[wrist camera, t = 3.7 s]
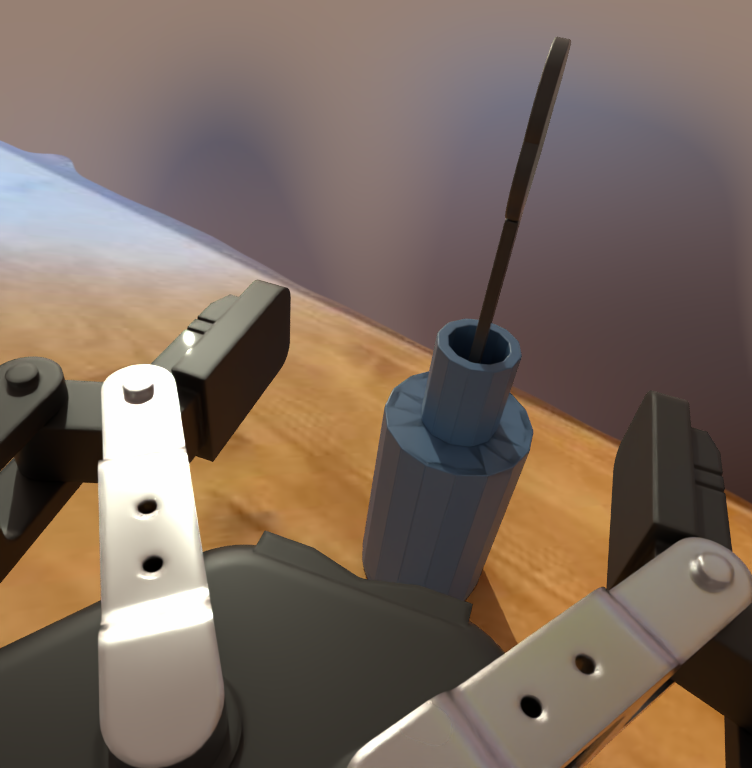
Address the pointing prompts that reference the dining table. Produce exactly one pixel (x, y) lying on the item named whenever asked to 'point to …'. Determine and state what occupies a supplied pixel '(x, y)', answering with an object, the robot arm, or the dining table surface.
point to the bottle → (447, 464)
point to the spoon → (522, 185)
